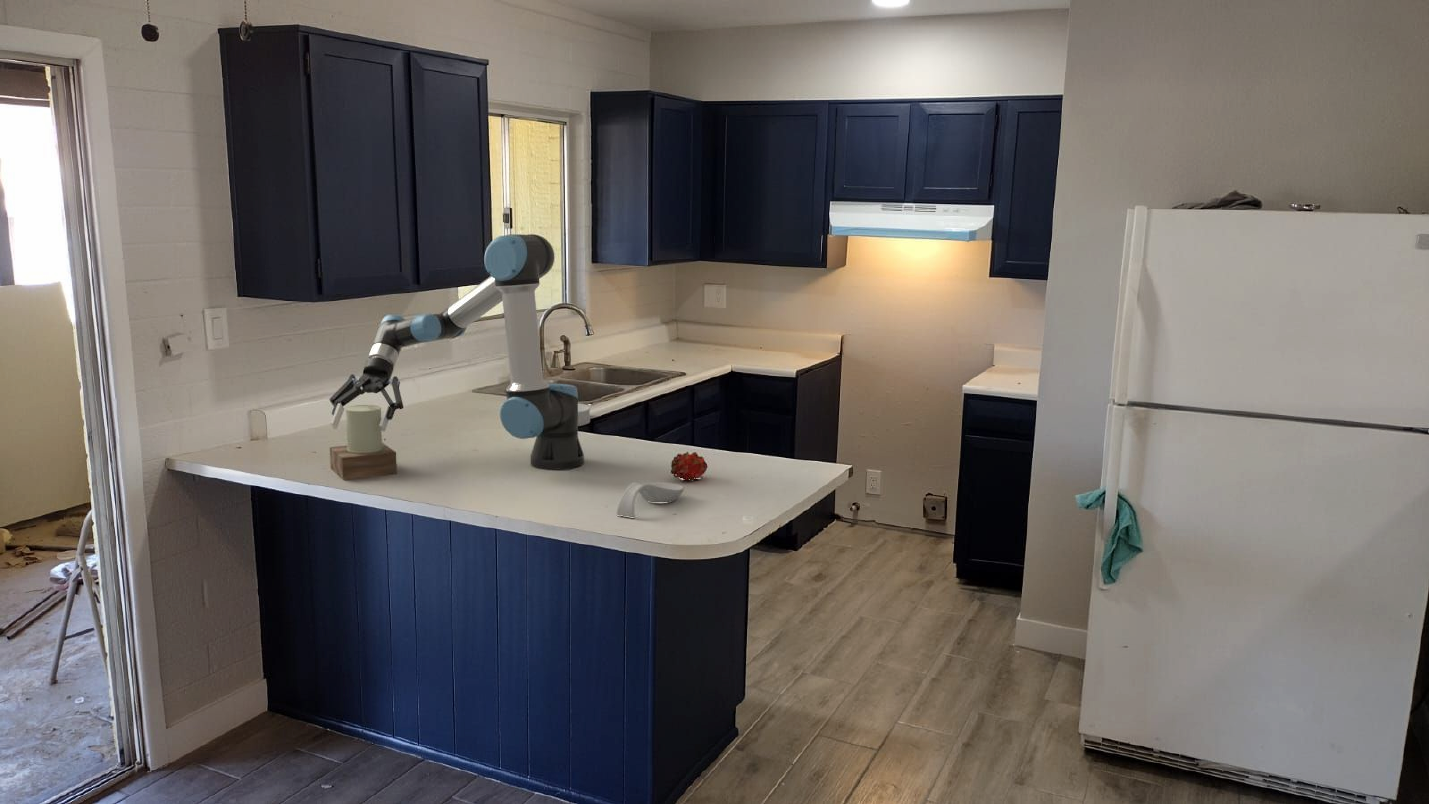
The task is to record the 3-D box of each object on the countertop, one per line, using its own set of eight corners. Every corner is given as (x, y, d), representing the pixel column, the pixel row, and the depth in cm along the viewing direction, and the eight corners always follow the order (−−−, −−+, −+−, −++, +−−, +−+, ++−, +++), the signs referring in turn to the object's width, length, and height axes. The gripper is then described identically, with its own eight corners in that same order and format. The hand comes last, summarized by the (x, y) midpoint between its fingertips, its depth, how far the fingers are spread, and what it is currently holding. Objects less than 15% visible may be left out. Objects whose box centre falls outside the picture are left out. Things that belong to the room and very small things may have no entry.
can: (371, 454, 271) (370, 410, 269) (340, 452, 273) (338, 408, 271) (389, 447, 280) (387, 404, 278) (358, 444, 282) (356, 402, 280)
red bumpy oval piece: (666, 488, 274) (702, 488, 281) (683, 475, 268) (719, 476, 275) (660, 459, 277) (695, 460, 284) (676, 446, 271) (712, 447, 278)
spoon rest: (650, 492, 264) (650, 465, 263) (691, 498, 260) (692, 471, 258) (604, 516, 243) (604, 486, 242) (647, 523, 238) (648, 493, 237)
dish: (541, 431, 335) (540, 416, 334) (514, 419, 353) (514, 405, 352) (601, 424, 347) (601, 410, 346) (573, 413, 365) (573, 399, 364)
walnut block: (396, 473, 276) (396, 452, 274) (343, 480, 268) (342, 457, 267) (382, 462, 287) (381, 442, 286) (330, 468, 280) (329, 447, 278)
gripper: (427, 373, 287) (406, 437, 275) (343, 370, 289) (319, 432, 278) (419, 357, 280) (397, 421, 268) (333, 353, 283) (308, 417, 271)
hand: (357, 427), depth 273 cm, fingers open, 13 cm apart
